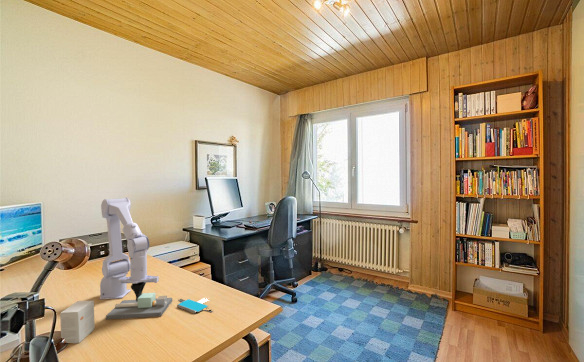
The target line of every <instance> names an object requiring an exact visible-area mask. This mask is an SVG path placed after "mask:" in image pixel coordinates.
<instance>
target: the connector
mask: <svg viewBox="0 0 584 362" xmlns="http://www.w3.org/2000/svg"><path fill="white" fill-rule="evenodd" d="M167 298H168V295H159V296H158V297H156V305H157V307H164V306H165V302H166V304H167Z"/></svg>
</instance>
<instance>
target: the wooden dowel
mask: <svg viewBox="0 0 584 362" xmlns="http://www.w3.org/2000/svg"><path fill="white" fill-rule="evenodd" d="M114 305H115V307H114V308H119V307H137V306H138V303H123V304H119V303H116V304H114ZM155 305H156V301H153V302H152V306H155ZM165 305H166V302H165Z"/></svg>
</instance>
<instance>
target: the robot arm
mask: <svg viewBox="0 0 584 362" xmlns="http://www.w3.org/2000/svg"><path fill="white" fill-rule="evenodd" d="M131 205H132V203H131V200H130V199H129V197H123V198H109V199H108V198H104V199H103V200H102V201H101V205H100V208H101V209H100V210H101V217H102V218H104V219H106V224H107V238H108V239H107V240H108V250H109V252H108V253H109V254H108V255H107V256H106V257H105V258H104V259H103V260H102V267H101V272H102V276H103V277H102V278H101V279H100V283H99V284H100V285H99V288H100V290H99V291H100V293H99V294H100V297H99V300H109V299H111V300H114V299H123V298H124V297H125V296H126V295H127V294H128V293H130V292H131V290H132V291H133V293H134V295H135V300H136V302H138V297H140V296H141V295H142V293H143V292H144V291H143V290H144V289H145V285H146V284H147V283H154V284H156V283H158V282H159V280H160V276H159V275H157V276H155V275H148V258H147V257H148V256H147V255H148V254H147V250H149V249H150V239H149V237H148V236H147V235H145V233H142V230H141V229H140V226H139V225H138V223H137V222H134V220H133V219H132V215H131V212H130V211H131V207H132V206H131ZM121 225H122V226H123V227H122V230H121ZM122 232H123V235H124V237H125V239H126V241H127V245H126V246H127V247H126V249H127V251H128V254H126V253H124V252H123V242H122V241H123V240H122ZM129 272H130V276H127V275H128V273H129ZM127 284H131V285H130V289H128V288H127V286H128V285H127Z"/></svg>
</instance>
